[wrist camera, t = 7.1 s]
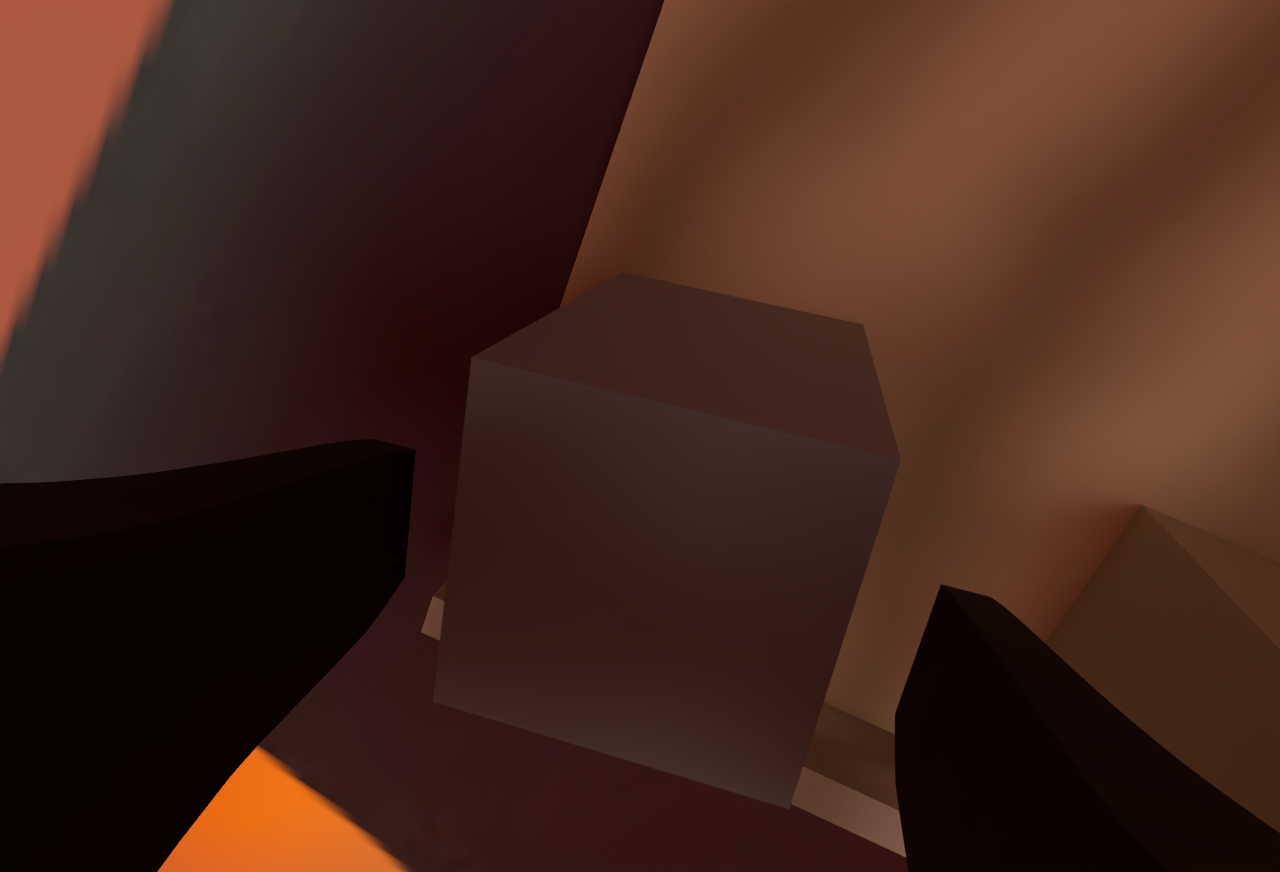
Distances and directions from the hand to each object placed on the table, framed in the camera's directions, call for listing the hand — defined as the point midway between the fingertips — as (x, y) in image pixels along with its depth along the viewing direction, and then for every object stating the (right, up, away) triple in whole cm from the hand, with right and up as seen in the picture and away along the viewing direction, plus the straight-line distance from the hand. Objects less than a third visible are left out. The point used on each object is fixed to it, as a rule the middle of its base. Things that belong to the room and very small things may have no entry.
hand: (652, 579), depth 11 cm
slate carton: (+1, +2, +7) cm, 7 cm away
